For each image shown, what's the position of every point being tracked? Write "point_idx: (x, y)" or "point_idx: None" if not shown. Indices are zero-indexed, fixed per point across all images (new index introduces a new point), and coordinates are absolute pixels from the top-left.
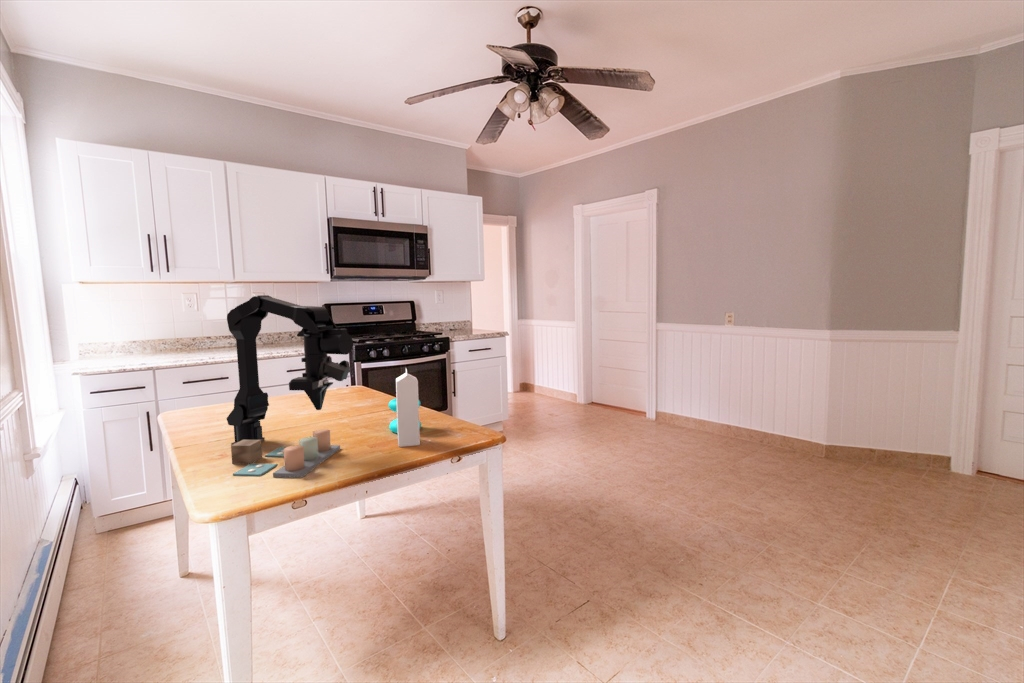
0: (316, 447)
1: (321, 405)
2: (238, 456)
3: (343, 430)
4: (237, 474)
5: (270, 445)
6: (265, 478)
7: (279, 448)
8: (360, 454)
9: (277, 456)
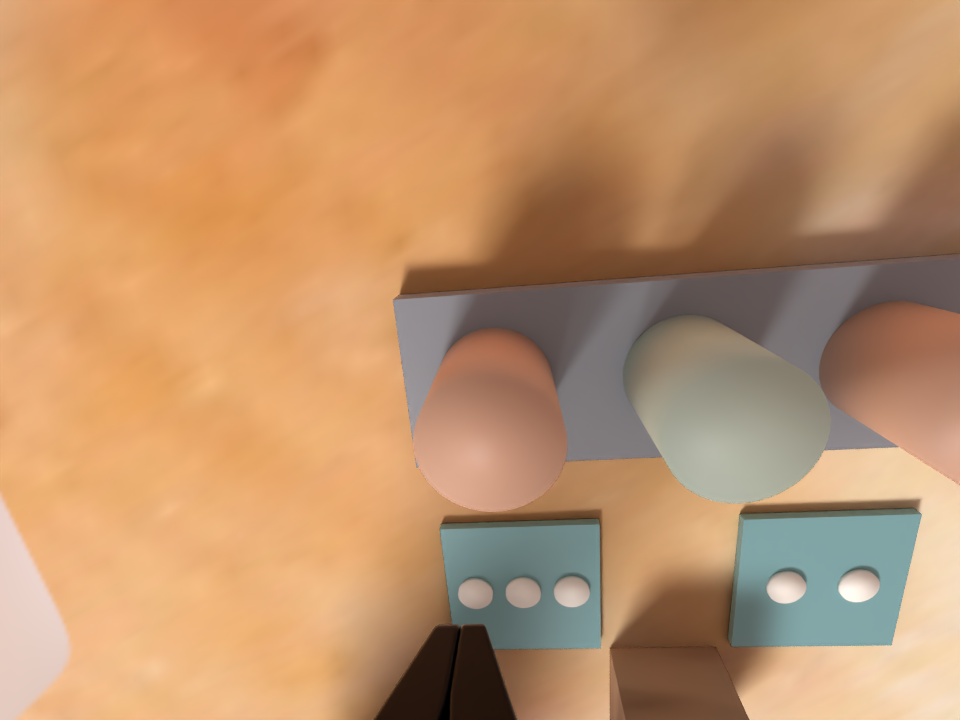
0: (723, 337)
1: (443, 675)
2: None
3: (47, 470)
4: (894, 622)
5: None
6: None
7: None
8: (493, 57)
9: (598, 585)
